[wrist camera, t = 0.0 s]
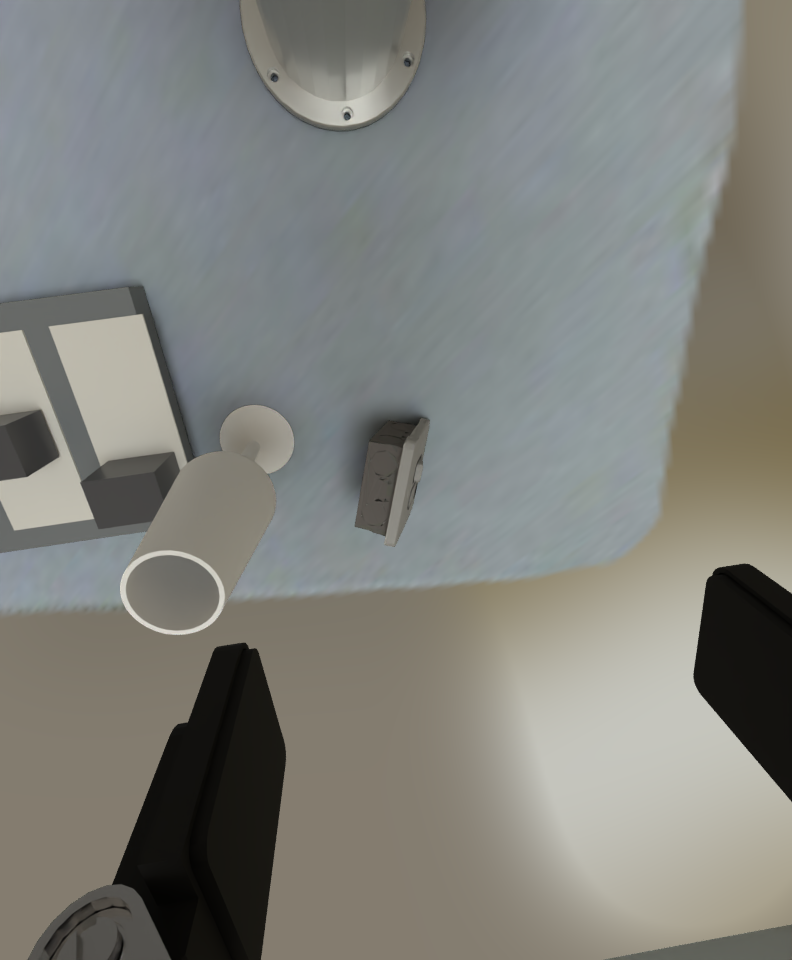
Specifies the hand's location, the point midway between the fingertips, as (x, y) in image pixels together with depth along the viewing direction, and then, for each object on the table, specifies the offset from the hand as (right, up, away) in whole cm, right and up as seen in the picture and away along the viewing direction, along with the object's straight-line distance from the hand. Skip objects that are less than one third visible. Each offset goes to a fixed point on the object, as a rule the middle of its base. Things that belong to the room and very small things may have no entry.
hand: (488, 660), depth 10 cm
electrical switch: (-2, +5, +38) cm, 38 cm away
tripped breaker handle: (-33, +7, +30) cm, 45 cm away
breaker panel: (-33, +8, +33) cm, 47 cm away
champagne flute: (-15, +7, +36) cm, 39 cm away
